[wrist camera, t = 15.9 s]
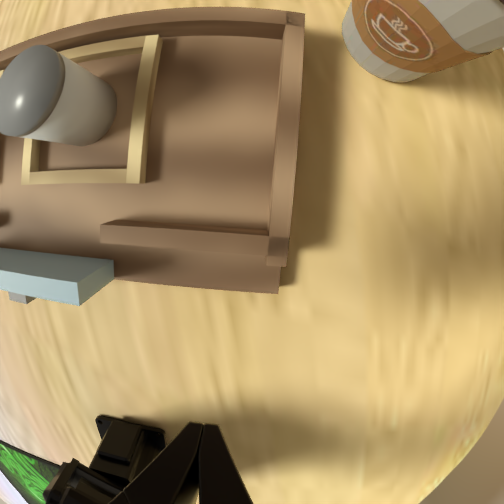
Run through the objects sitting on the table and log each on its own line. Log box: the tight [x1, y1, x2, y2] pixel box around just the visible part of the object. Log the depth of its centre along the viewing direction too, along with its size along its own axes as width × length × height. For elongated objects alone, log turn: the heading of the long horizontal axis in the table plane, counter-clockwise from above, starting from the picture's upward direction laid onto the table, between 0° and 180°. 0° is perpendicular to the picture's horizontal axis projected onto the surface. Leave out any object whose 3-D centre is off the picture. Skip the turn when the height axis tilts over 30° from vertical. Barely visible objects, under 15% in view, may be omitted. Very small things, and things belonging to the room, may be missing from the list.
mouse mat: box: [0, 441, 61, 504], centre depth 27 cm, size 27×22×1 cm
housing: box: [0, 7, 305, 294], centre depth 14 cm, size 16×31×6 cm, turn 85°
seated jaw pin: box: [0, 45, 117, 146], centre depth 12 cm, size 4×4×7 cm
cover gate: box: [0, 248, 114, 306], centre depth 15 cm, size 2×11×4 cm, turn 85°
